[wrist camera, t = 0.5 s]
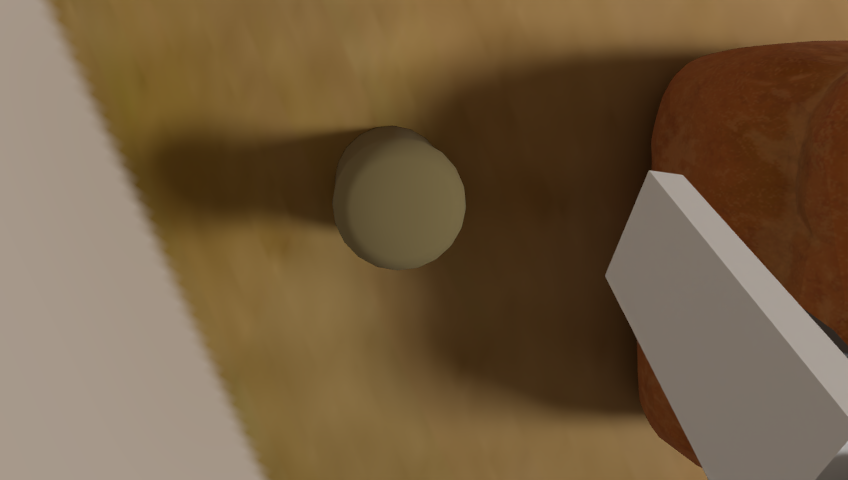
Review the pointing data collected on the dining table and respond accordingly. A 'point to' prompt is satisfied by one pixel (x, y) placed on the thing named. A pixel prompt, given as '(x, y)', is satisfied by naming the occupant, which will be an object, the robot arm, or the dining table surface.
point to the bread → (764, 174)
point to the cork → (397, 199)
